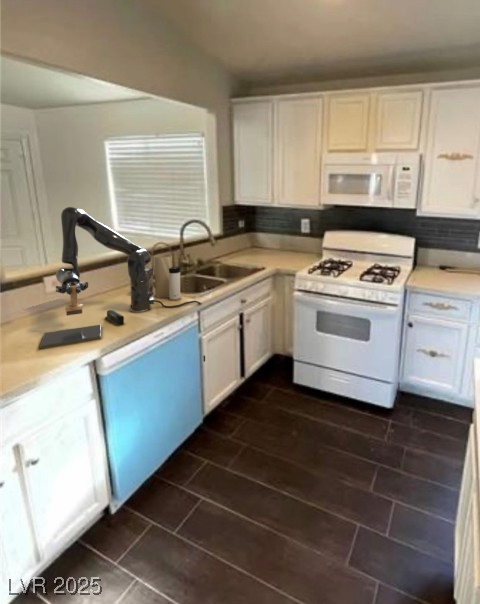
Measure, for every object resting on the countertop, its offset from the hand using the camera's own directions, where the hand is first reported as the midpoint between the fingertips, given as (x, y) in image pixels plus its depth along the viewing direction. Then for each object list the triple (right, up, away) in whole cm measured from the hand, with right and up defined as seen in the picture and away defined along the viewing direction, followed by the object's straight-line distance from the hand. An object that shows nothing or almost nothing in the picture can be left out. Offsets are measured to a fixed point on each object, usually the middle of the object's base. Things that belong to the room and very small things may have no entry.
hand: (74, 292), depth 162 cm
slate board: (0, -20, -2) cm, 20 cm away
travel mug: (+27, -14, +52) cm, 61 cm away
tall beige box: (+18, -13, +58) cm, 62 cm away
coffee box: (+7, -13, +58) cm, 60 cm away
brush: (-2, -11, +4) cm, 11 cm away
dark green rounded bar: (+9, -18, +17) cm, 27 cm away
